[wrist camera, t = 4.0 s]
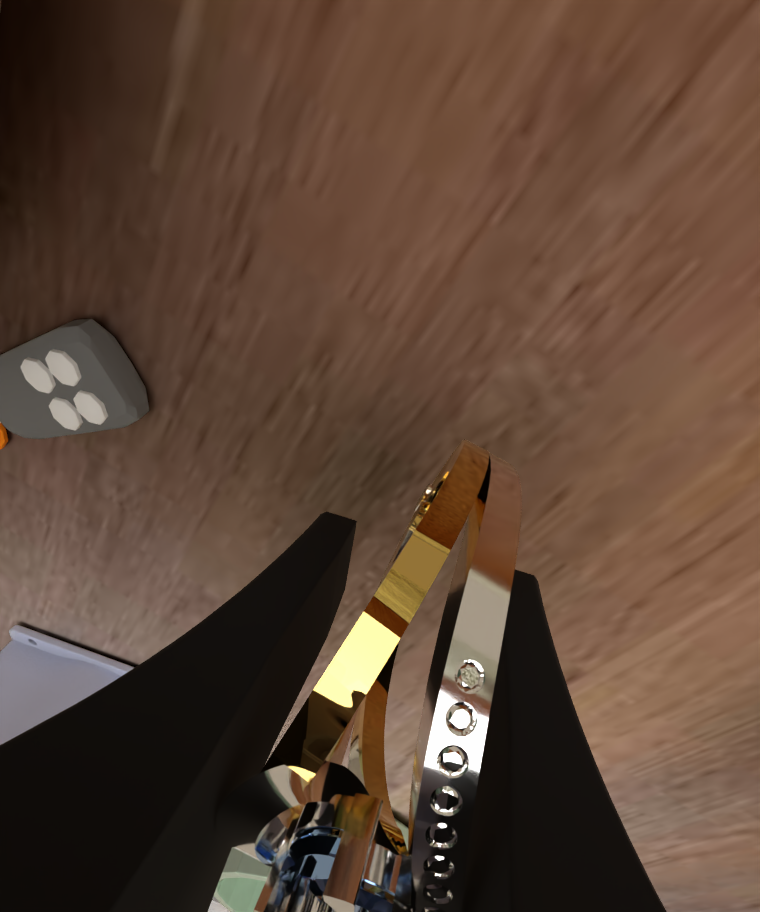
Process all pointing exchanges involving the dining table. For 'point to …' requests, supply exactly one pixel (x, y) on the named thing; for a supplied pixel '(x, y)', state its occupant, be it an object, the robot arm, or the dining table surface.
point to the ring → (364, 705)
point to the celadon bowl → (250, 879)
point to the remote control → (69, 384)
